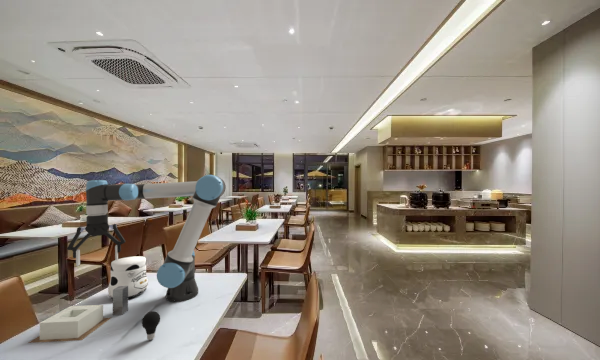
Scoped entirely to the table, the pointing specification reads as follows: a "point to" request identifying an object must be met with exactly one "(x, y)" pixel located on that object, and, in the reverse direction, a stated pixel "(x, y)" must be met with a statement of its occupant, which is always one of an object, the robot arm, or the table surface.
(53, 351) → the table surface
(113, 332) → the table surface
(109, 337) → the table surface
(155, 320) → the light bulb
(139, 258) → the milk container
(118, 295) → the brushed grey pillar
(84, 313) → the well
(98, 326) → the board
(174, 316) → the table surface
